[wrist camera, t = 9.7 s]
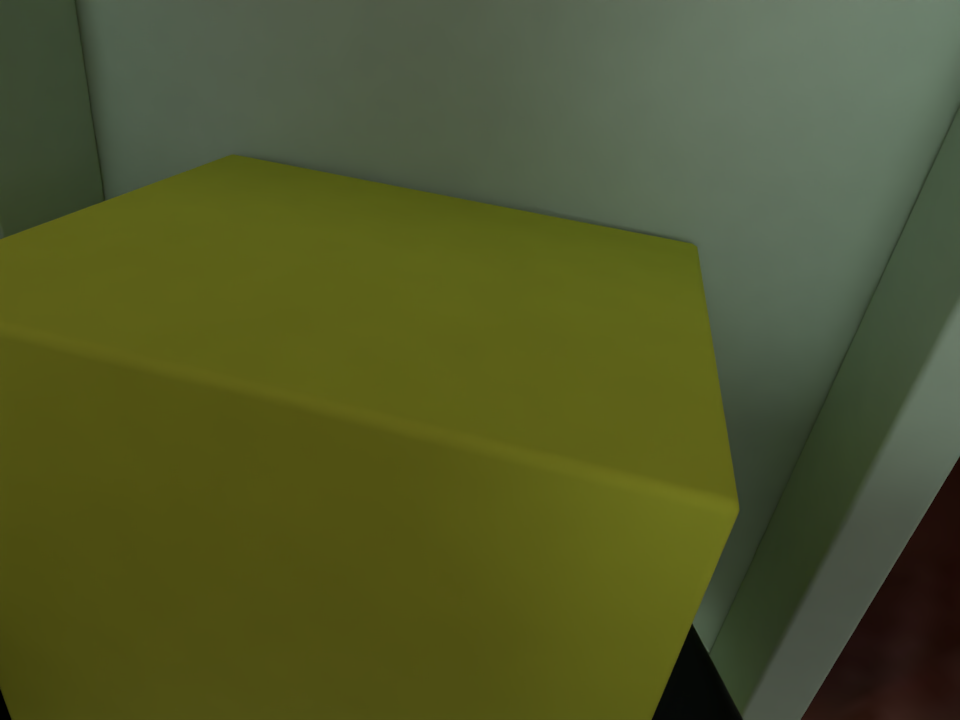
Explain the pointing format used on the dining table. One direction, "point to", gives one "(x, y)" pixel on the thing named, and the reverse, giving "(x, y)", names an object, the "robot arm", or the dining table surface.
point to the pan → (607, 215)
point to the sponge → (350, 456)
